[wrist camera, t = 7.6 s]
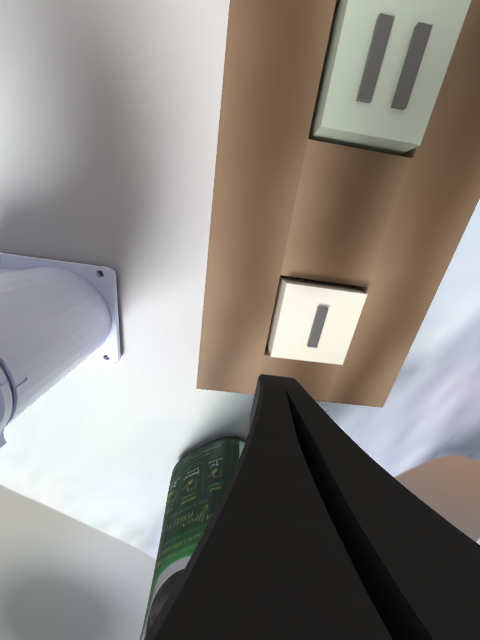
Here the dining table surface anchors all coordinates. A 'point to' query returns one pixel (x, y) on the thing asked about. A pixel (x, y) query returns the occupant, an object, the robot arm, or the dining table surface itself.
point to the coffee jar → (189, 514)
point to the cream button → (313, 320)
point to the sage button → (384, 71)
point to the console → (327, 206)
